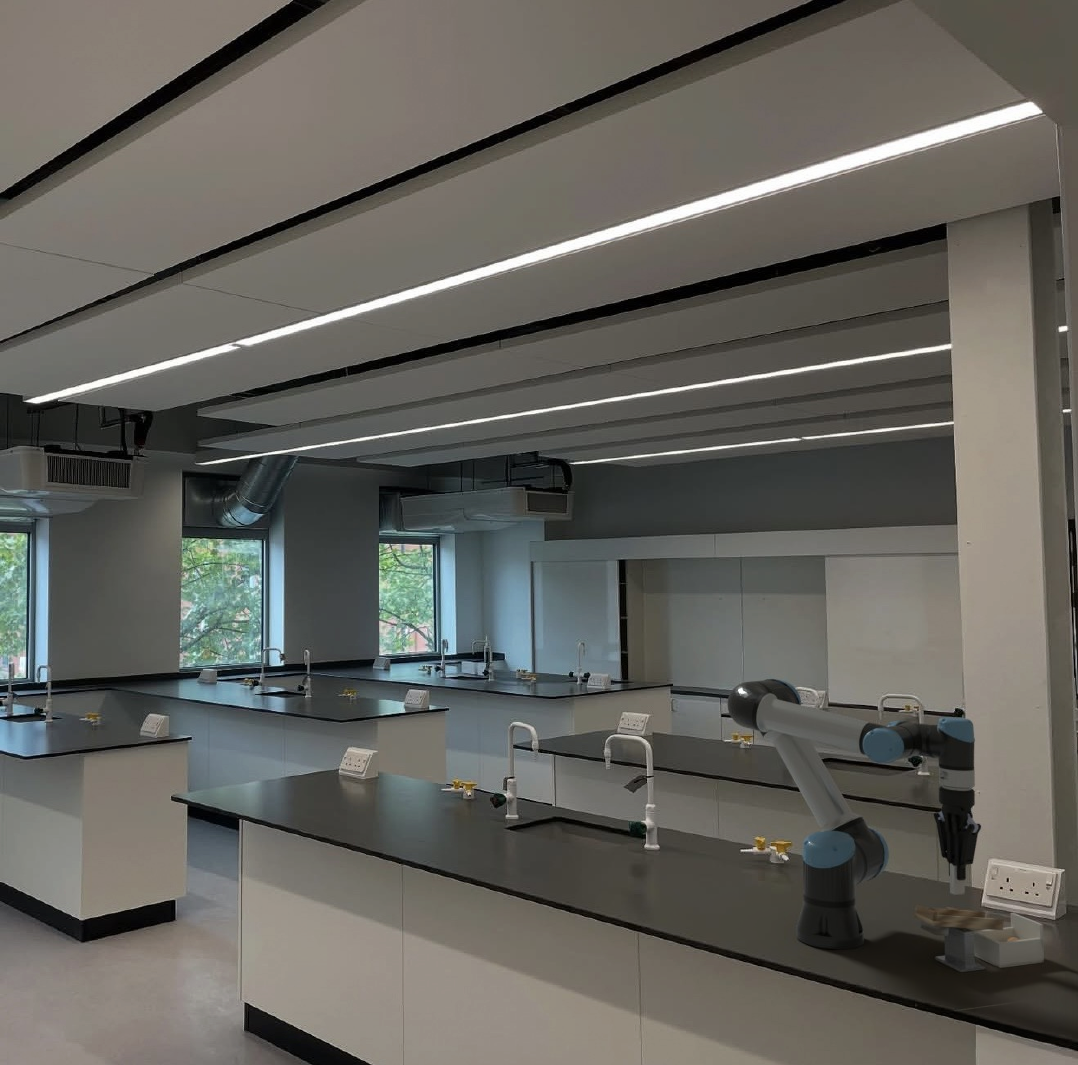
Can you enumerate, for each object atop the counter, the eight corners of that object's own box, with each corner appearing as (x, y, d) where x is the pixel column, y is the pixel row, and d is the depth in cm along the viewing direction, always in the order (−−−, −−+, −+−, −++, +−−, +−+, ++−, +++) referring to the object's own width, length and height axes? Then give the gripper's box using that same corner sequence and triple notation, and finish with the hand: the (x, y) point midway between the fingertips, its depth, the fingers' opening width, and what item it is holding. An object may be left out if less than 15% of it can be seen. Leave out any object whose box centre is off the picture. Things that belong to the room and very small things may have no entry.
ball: (1000, 949, 225) (1005, 933, 225) (1013, 953, 226) (1017, 937, 226) (1012, 954, 221) (1017, 938, 222) (1025, 959, 222) (1029, 943, 223)
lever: (931, 935, 214) (934, 912, 215) (893, 917, 227) (895, 895, 227) (1001, 939, 219) (1003, 916, 220) (960, 921, 232) (962, 900, 232)
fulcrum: (961, 972, 215) (960, 934, 215) (935, 959, 222) (934, 922, 223) (984, 969, 216) (983, 931, 217) (958, 956, 224) (957, 920, 225)
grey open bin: (971, 954, 225) (970, 917, 226) (1014, 949, 229) (1013, 912, 229) (999, 967, 217) (998, 929, 218) (1044, 962, 221) (1042, 924, 221)
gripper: (923, 782, 236) (924, 886, 235) (962, 793, 224) (963, 903, 222) (950, 781, 238) (951, 884, 237) (991, 792, 226) (991, 900, 224)
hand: (957, 893), depth 230 cm, fingers closed
